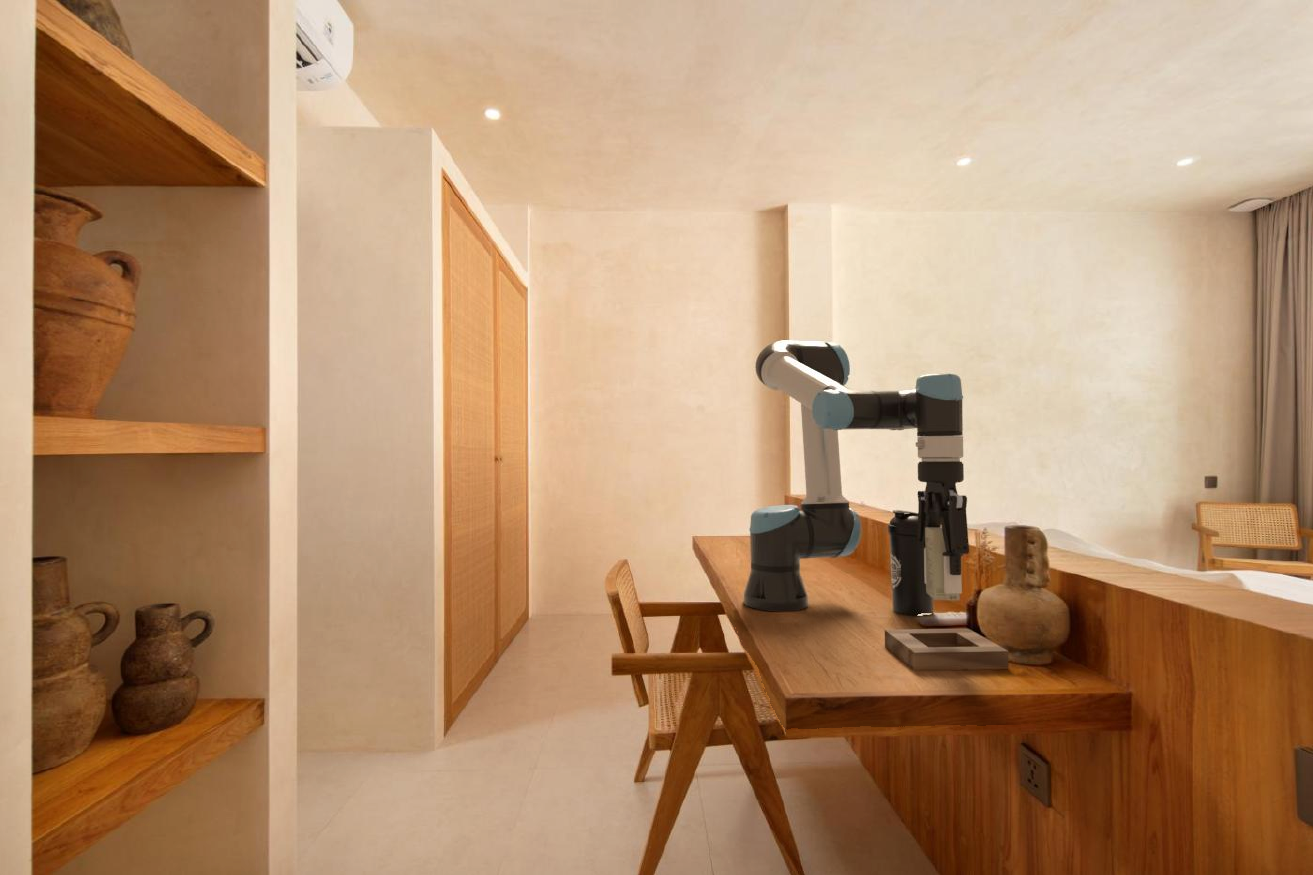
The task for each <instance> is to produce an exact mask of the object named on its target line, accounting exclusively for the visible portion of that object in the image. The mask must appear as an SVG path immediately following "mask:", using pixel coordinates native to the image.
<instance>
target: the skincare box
mask: <svg viewBox="0 0 1313 875" xmlns="http://www.w3.org/2000/svg"><path fill="white" fill-rule="evenodd" d="M925 543H926V592H927V594H929V595H930V596H931V597H932V598H933V601H934V600H935V601H953V602H959V601H960V600H961V599H960V597H961V596H960V594H961V593H958V594H946V593H944V556H943V554H942V553H944V552H946V548H945V543H944V537H943V532H942V526H941V527H926V528H925Z"/></svg>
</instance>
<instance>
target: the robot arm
mask: <svg viewBox="0 0 1313 875" xmlns="http://www.w3.org/2000/svg"><path fill="white" fill-rule="evenodd" d="M850 371H851V365H850V359H849V356H848V354H847V353H846V351H845V349H844V348H843V347H842V346H841V345H840V344H838V343H835V342H830V341H823V340H821V341H820V340H819V341H810V340H808V341H802V340H800V341H799V340H779V341H778V340H777V341H776V342H772V343H771V344H769V345H767V346H765V347H764V348H763V349H762V350H761V351H760V353H758V356H757V358H756V361H755V374H756V375H757V378H758V380H759V381H760V382H761V383H762V384H763V385H764V386H766V387H768V388H769V389H771V390H773V391H782V392H783V393H784V394H786V395H788V396H789V397H791V398H792V399H794V400H795V401H797V402H798V403H800V412H801V425H802V426H801V428H802V445H803V461H804V474H805V475H804V477H805V492H806V495H805V497H804V499H803V500H802V501H801V502H800V508H799V506H798V505H795V504H781V505H779V504H778V505H772V506H771V505H770V506H769V505H768V506H765V507H761V508H758V509H756V510H754V511H753V512H752V513H751V515H750V525H749V539H750V573H749V575H748V580H747V582H746V586H745V589H744V592H743V604H745V606H747V607H748V608H752V609H756V610H759V611H760V610H761V611H767V612H768V611H769V612H792V611H793V612H794V611H795V612H796V611H799V610H803V609H805V608H807V607H808V605H809V604H808V603H809V602H808V601H809V600H808V596H809V595H808V594H807V593H808V592H807V591H806V590H807V589H806V586H805V584H804V581H803V578H802V575H801V568H800V567H801V565H800V563H801V562H800V561H801V560H802V559H805V560H806V559H820V558H821V559H823V558H832V559H833V558H834V559H835V558H839V557H846V556H849V555H851V554H853V553H854V551H856V548H857V547H858V546H859V543H860V540H861V536H862V524H861V520H860V517H859V514H858V512H856V511H855V510H854V509H853V508H851V507H850V501H849V500H848V499H847V498H846V497H845V496H844V494H843V491H842V490H843V489H842V488H843V487H842V474H841V459H840V456H841V455H840V446H839V445H840V444H839V431H842V430H889V431H904V430H913V429H916V430H917V431H916V432H917V433H916V437H917V438H916V439H917V442H915V447H917V457H918V459H921V461H919V462H918V463H917V480H918V481H919V482H921V483H925V484H926V485H925V489H924V490H918V491H917V500H918V511H917V513H918V542H919V543H922V546H923V547H924V574H925V584H926V543H925V528H926V527H942V532H943V537H944V543H945V548H946V552H944V553H942V554H943V556H944V593H946V594H958V593H960V594H963V591H962V590H963V588H962V581H963V580H962V577H963V576H962V557H963V556H964V555H967V554H968V555H969V553H970V547H969V546H970V544H969V534H968V533H969V532H968V530H969V528H968V518H967V516H968V515H967V504H968V497H967V495H965V494H964V495H963V494H962V495H960V494H958V490H957V486H956V484H957V483H961V482H963V481H964V479H965V477H964V475H965V474H964V468H965V467H964V463H963V461H961V459H963V458H964V436H963V434H964V433H963V432H964V431H963V430H964V429H963V426H964V425H963V421H964V420H963V419H964V418H963V399H964V396H963V387H962V379H961V378H960V376H959V375H958V374H953V373H934V374H933V373H932V374H931V373H930V374H924V375H921V376H919V377H917V379H916V380H915V382H916V383H915V389H910V390H864V389H863V390H862V389H859V390H858V389H851V388H849V387H846V385H847V383H848V381H849V376H850V374H851V373H850Z"/></svg>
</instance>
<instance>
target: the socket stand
mask: <svg viewBox="0 0 1313 875" xmlns="http://www.w3.org/2000/svg"><path fill="white" fill-rule="evenodd" d="M884 646H885V647H886V648H887V649H888V650H889V651H891V652H892V653H893V654H894V655H895V656H897V657H898V658H899V659H900V660H902V662H904V663H905V664H906V665H908V666H909V667H910V668H911V667H912V668H911V669H912V670H914V671H957V670H958V671H959V670H960V669H969V670H971V671H972V670H974V671H975V670H1009V668H1010V667H1009V664H1010V663H1009V660H1010V658H1009V650H1007V649H1006V648H1003V647H1002V646H1000V645H998V644H997V643H995V642H993V641H991V640H989V639H987V638H986V637H984V636H982V635H981V634H979V633H977V632H975V631H973V630H971V629H969V628H928V629H927V628H925V629H924V628H922V629H921V628H919V629H918V628H913V629H912V628H911V629H904V628H903V629H884Z"/></svg>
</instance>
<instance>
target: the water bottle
mask: <svg viewBox="0 0 1313 875" xmlns="http://www.w3.org/2000/svg"><path fill="white" fill-rule="evenodd" d="M892 513H893V514H894V517H892V518H891V519H890V521H889V523H887V533H888V534H889V550H890V552H889V555H890V575H891V576H890V577H891V578H890V579H891V592H892V594H891V595H892V610H893V612H894V613H896V614H899V615H904V616H910V617H918V616H917V615H918V614H921V613H933V614H934V599H933V598H932V597H931V596H930V595H929V594H927V592H926V584H925V574H924V547H923V546H922V543H919V542H918V512H913V511H909V510H900V509H895V510H892Z"/></svg>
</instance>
